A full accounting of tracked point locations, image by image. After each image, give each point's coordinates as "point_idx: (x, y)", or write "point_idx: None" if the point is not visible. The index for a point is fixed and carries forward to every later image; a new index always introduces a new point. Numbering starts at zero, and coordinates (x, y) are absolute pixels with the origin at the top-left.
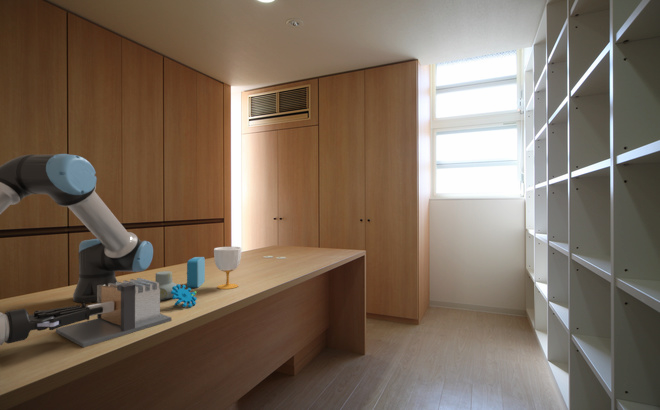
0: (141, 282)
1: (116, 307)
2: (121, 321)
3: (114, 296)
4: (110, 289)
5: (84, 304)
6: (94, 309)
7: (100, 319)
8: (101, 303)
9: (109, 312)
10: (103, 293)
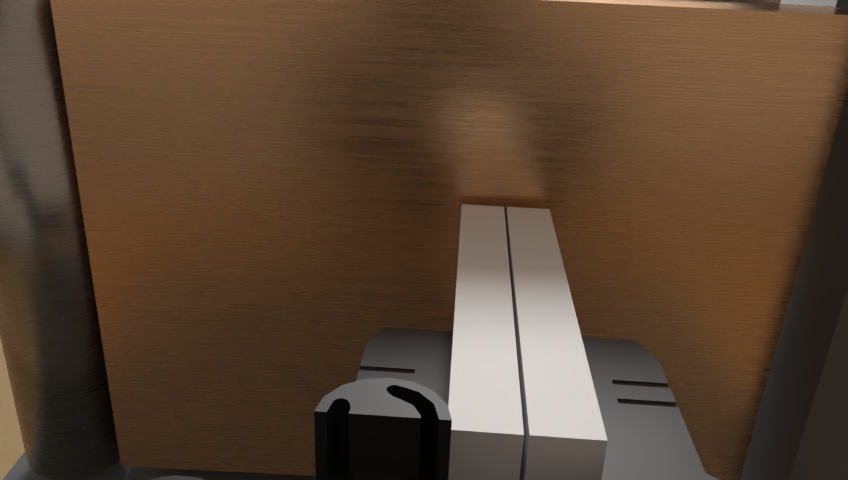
0: None
1: (572, 285)
2: (814, 457)
3: (526, 124)
4: (395, 12)
5: (448, 418)
6: (695, 451)
7: (90, 476)
8: (496, 278)
9: (353, 371)
10: (150, 108)
